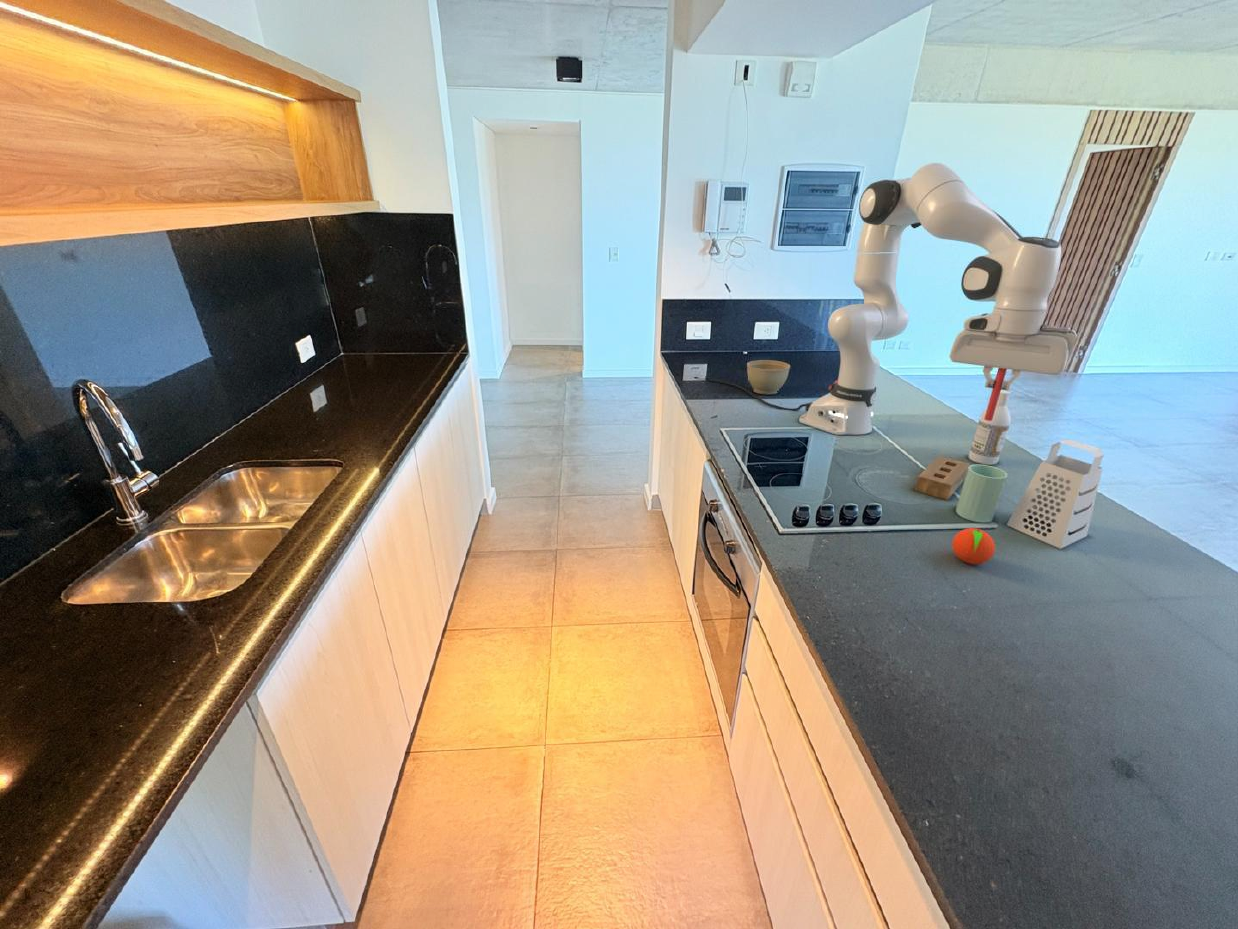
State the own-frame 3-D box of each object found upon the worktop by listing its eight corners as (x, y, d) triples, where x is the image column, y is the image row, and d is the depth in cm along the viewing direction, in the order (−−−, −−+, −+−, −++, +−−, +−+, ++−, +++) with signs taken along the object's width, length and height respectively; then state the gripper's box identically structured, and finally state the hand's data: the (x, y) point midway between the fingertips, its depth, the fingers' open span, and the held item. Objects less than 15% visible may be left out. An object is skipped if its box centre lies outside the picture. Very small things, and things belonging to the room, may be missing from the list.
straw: (983, 419, 117) (1001, 356, 111) (985, 418, 118) (1002, 355, 112) (991, 421, 116) (1009, 357, 110) (992, 419, 117) (1011, 356, 111)
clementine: (989, 578, 99) (1000, 546, 96) (947, 567, 102) (956, 535, 99) (989, 557, 105) (999, 527, 102) (949, 547, 109) (958, 517, 106)
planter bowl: (791, 389, 211) (795, 362, 206) (779, 400, 198) (783, 371, 194) (752, 383, 219) (755, 357, 214) (738, 393, 206) (741, 366, 202)
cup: (951, 514, 121) (964, 471, 116) (960, 503, 125) (973, 461, 121) (988, 526, 116) (1003, 481, 111) (995, 514, 121) (1010, 470, 116)
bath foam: (989, 467, 144) (1012, 397, 135) (963, 459, 149) (983, 390, 140) (1001, 461, 147) (1024, 392, 139) (975, 453, 152) (995, 386, 144)
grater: (1060, 548, 108) (1097, 459, 100) (1006, 525, 116) (1036, 441, 108) (1086, 535, 112) (1124, 449, 104) (1032, 514, 121) (1063, 432, 112)
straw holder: (914, 490, 132) (918, 476, 130) (935, 469, 143) (939, 455, 141) (947, 500, 127) (951, 485, 125) (966, 477, 138) (970, 463, 136)
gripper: (1082, 326, 104) (1059, 394, 109) (964, 316, 117) (949, 378, 122) (1078, 330, 100) (1054, 400, 105) (956, 319, 113) (941, 383, 118)
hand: (997, 388), depth 114 cm, fingers closed on straw, 1 cm apart
